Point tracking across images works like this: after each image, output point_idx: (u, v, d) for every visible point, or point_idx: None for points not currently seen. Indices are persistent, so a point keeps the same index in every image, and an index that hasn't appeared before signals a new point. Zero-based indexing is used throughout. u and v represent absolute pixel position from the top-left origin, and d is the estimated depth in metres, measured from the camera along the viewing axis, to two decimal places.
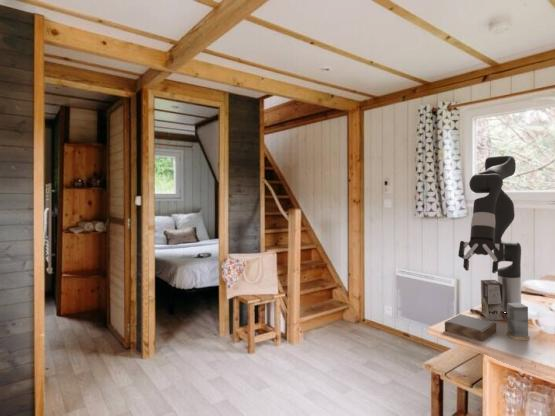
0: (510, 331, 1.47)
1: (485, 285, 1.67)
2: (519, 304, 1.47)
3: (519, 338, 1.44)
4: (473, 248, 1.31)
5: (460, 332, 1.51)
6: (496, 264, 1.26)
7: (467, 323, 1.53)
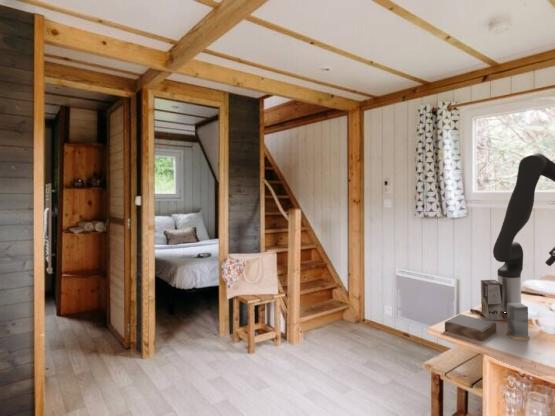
0: (510, 331, 1.47)
1: (485, 285, 1.67)
2: (519, 304, 1.47)
3: (519, 338, 1.44)
4: None
5: (460, 332, 1.51)
6: None
7: (467, 323, 1.53)
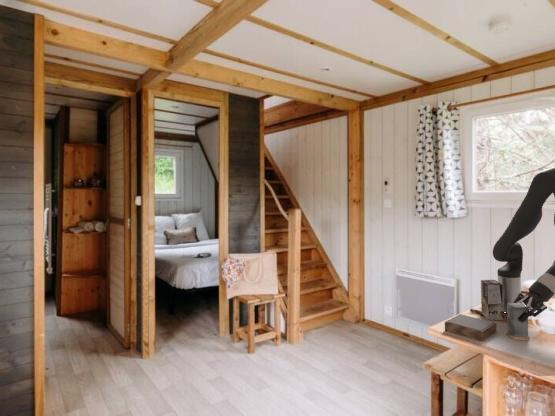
0: (510, 331, 1.47)
1: (485, 285, 1.67)
2: (519, 304, 1.47)
3: (519, 338, 1.44)
4: None
5: (460, 332, 1.51)
6: None
7: (467, 323, 1.53)
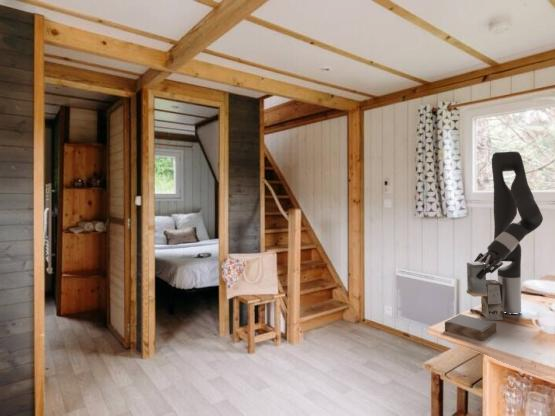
0: (469, 289, 1.53)
1: None
2: (478, 262, 1.52)
3: (477, 294, 1.50)
4: None
5: (460, 332, 1.51)
6: None
7: (467, 323, 1.53)
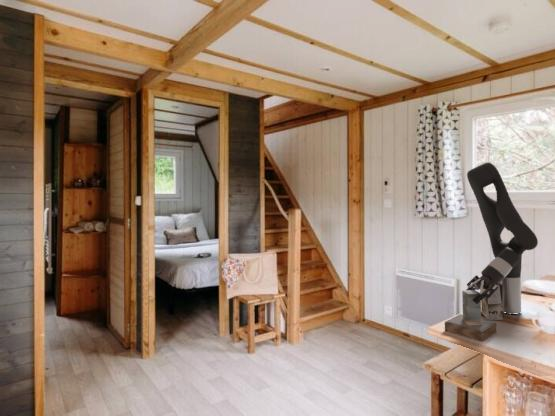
0: (465, 317, 1.54)
1: None
2: (473, 291, 1.53)
3: (473, 323, 1.51)
4: None
5: (460, 332, 1.51)
6: None
7: None
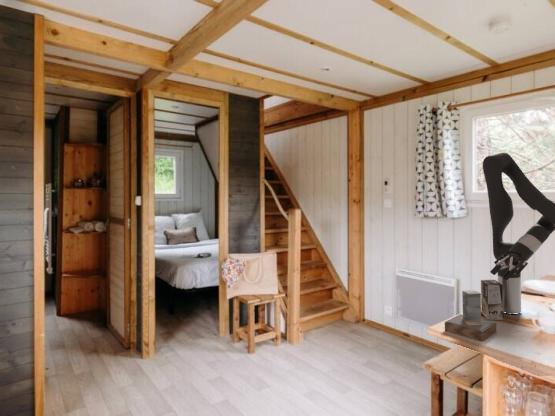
0: (465, 317, 1.54)
1: (485, 285, 1.67)
2: (473, 291, 1.53)
3: (473, 323, 1.51)
4: None
5: (460, 332, 1.51)
6: None
7: None
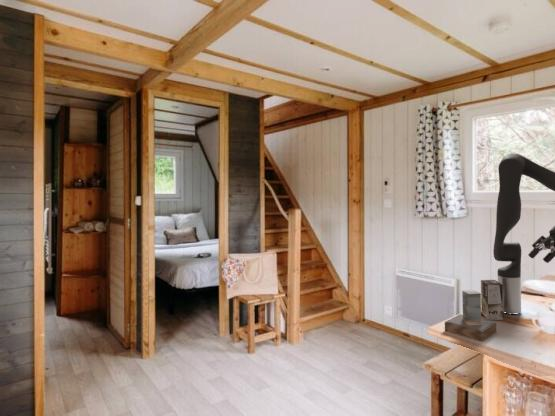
0: (465, 317, 1.54)
1: (485, 285, 1.67)
2: (473, 291, 1.53)
3: (473, 323, 1.51)
4: None
5: (460, 332, 1.51)
6: None
7: None
